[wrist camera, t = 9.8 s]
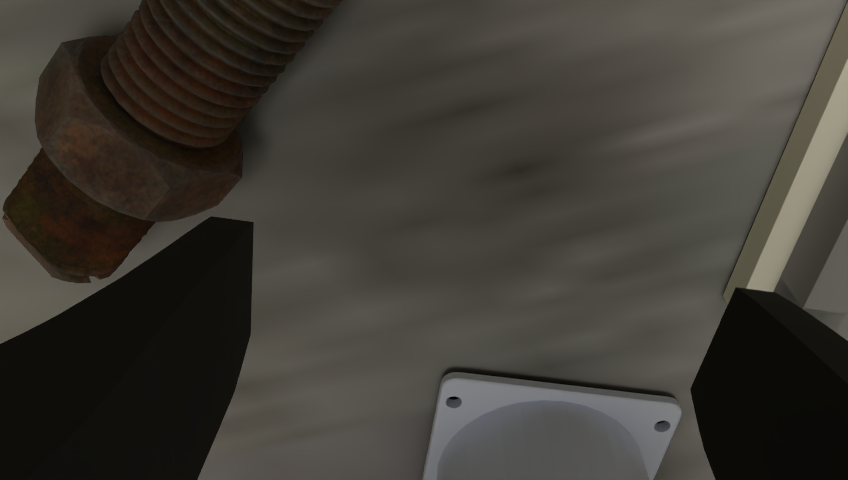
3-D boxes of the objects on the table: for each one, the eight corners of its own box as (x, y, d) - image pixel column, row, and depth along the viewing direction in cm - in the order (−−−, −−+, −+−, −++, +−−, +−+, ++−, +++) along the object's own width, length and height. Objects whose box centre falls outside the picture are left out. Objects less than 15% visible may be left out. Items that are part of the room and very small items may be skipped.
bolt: (94, 162, 22) (422, -281, 16) (188, 290, 22) (568, -119, 15) (-107, 180, 17) (262, -468, 11) (9, 350, 16) (475, -234, 10)
